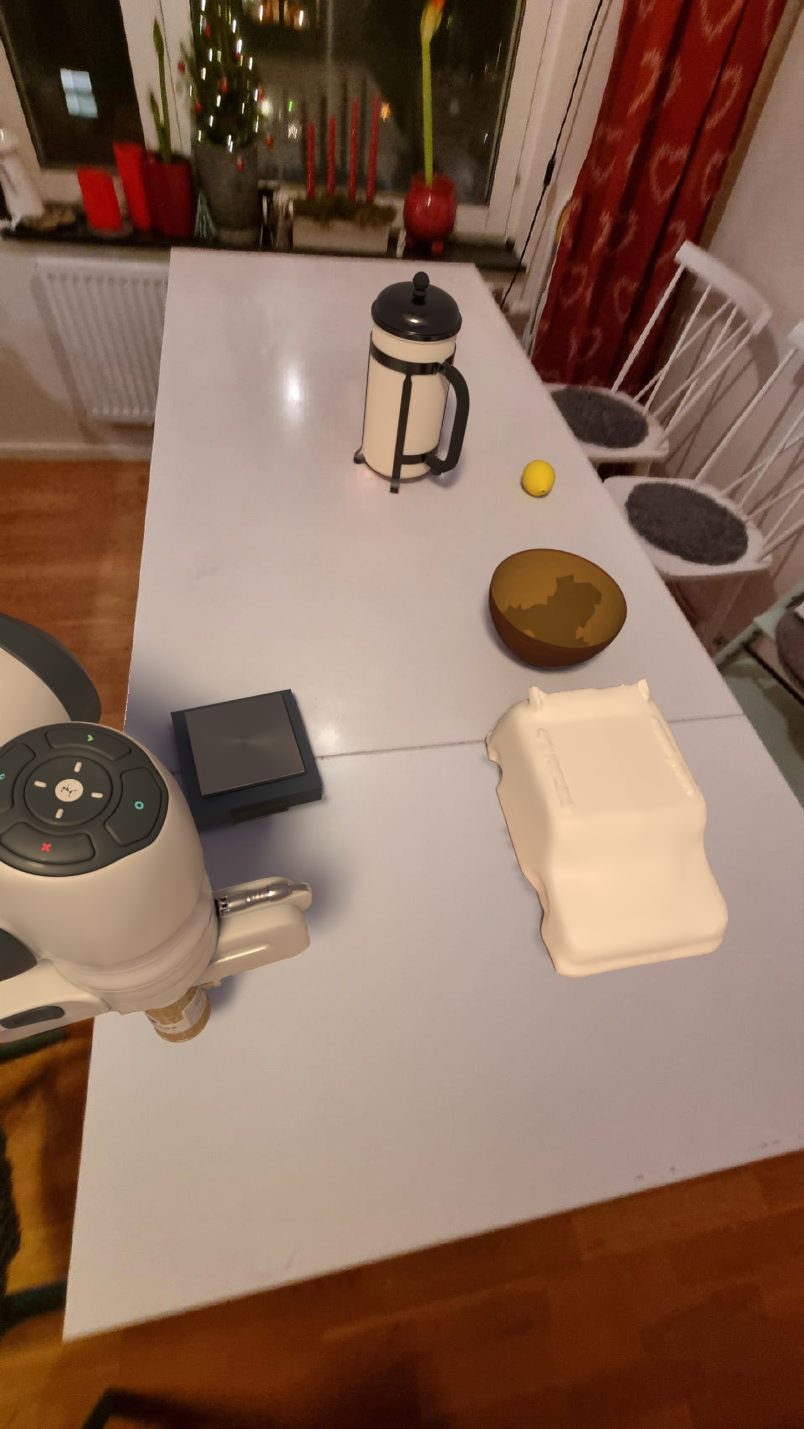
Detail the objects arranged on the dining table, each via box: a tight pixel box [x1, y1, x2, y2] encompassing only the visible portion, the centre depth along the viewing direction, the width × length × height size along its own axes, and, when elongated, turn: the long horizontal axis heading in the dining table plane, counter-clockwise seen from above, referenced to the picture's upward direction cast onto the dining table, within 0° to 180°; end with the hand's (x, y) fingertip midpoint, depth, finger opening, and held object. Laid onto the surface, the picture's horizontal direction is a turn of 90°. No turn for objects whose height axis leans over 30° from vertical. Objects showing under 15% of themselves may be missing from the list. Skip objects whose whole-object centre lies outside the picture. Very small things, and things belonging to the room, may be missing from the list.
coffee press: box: [353, 270, 471, 494], centre depth 104 cm, size 17×16×30 cm
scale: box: [170, 688, 323, 831], centre depth 79 cm, size 14×15×3 cm
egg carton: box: [485, 675, 729, 979], centre depth 74 cm, size 19×30×13 cm, turn 12°
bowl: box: [488, 548, 628, 669], centre depth 92 cm, size 18×18×10 cm
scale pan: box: [185, 693, 305, 798], centre depth 77 cm, size 11×11×1 cm
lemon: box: [521, 459, 556, 497], centre depth 115 cm, size 7×5×5 cm
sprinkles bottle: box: [142, 985, 212, 1044], centre depth 50 cm, size 5×5×13 cm
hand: (170, 989), depth 51 cm, fingers closed on sprinkles bottle, 4 cm apart
